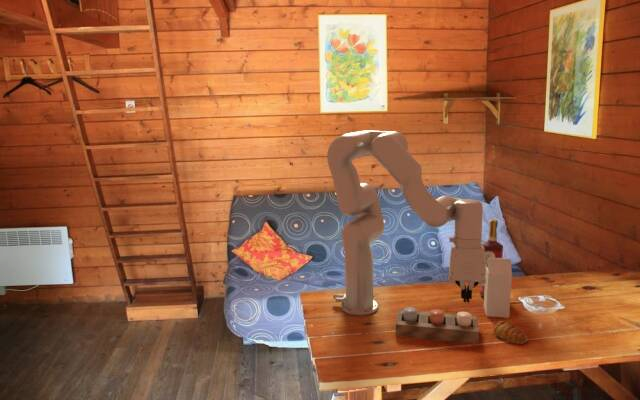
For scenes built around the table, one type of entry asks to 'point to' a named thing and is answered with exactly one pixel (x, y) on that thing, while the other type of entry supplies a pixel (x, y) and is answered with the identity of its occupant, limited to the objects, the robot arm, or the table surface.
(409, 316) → the grey rounded block
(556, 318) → the table surface
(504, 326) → the pastry
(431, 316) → the brick key
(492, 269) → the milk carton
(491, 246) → the liquor
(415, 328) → the console
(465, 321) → the white button
